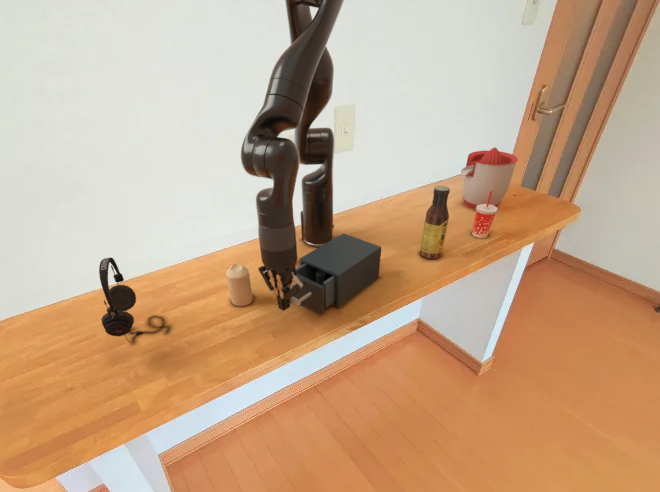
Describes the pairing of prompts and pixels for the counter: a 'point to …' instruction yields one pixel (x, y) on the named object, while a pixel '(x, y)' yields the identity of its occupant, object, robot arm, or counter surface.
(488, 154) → the citrus juicer
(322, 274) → the lid
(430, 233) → the sauce bottle
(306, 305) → the drawer
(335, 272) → the cabinet
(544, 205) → the counter surface
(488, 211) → the beverage cup
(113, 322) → the headphones
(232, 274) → the candle
